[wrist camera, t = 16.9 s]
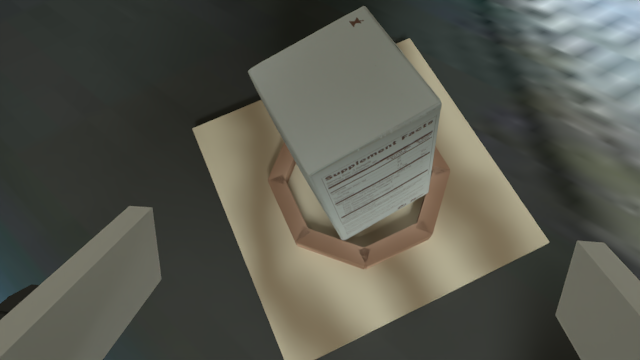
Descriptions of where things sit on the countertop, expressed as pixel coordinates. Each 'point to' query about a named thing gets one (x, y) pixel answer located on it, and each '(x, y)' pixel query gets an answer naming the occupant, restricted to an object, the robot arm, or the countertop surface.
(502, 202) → the collar board
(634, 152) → the countertop surface
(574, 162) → the countertop surface
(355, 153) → the supplement box
